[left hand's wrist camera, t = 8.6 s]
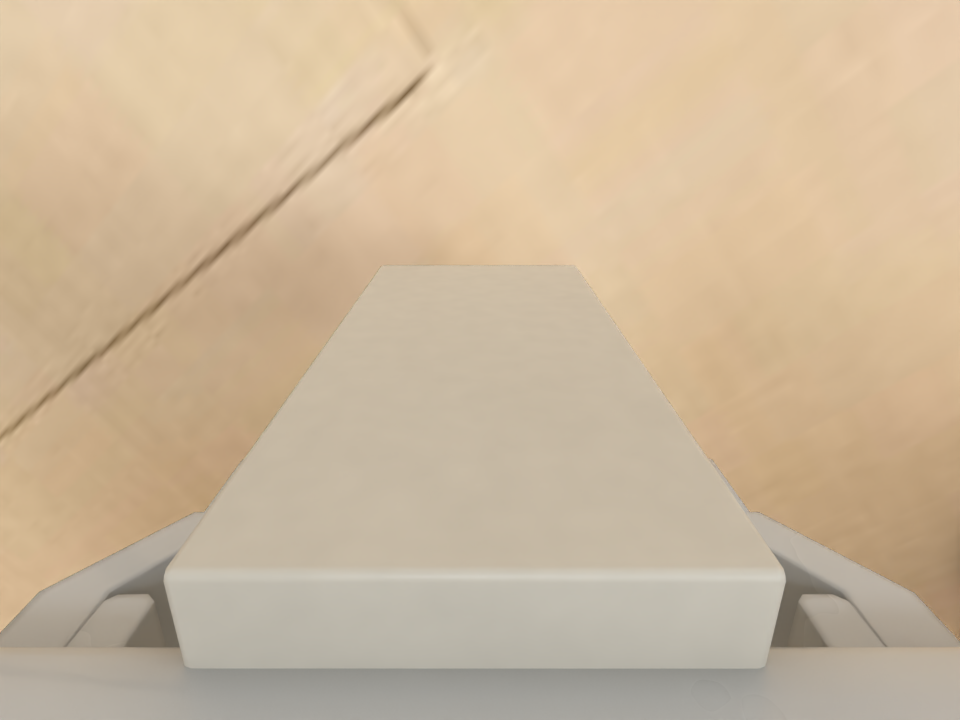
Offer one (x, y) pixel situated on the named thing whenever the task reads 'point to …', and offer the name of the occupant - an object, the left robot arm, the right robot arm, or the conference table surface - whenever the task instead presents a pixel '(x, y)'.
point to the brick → (475, 501)
